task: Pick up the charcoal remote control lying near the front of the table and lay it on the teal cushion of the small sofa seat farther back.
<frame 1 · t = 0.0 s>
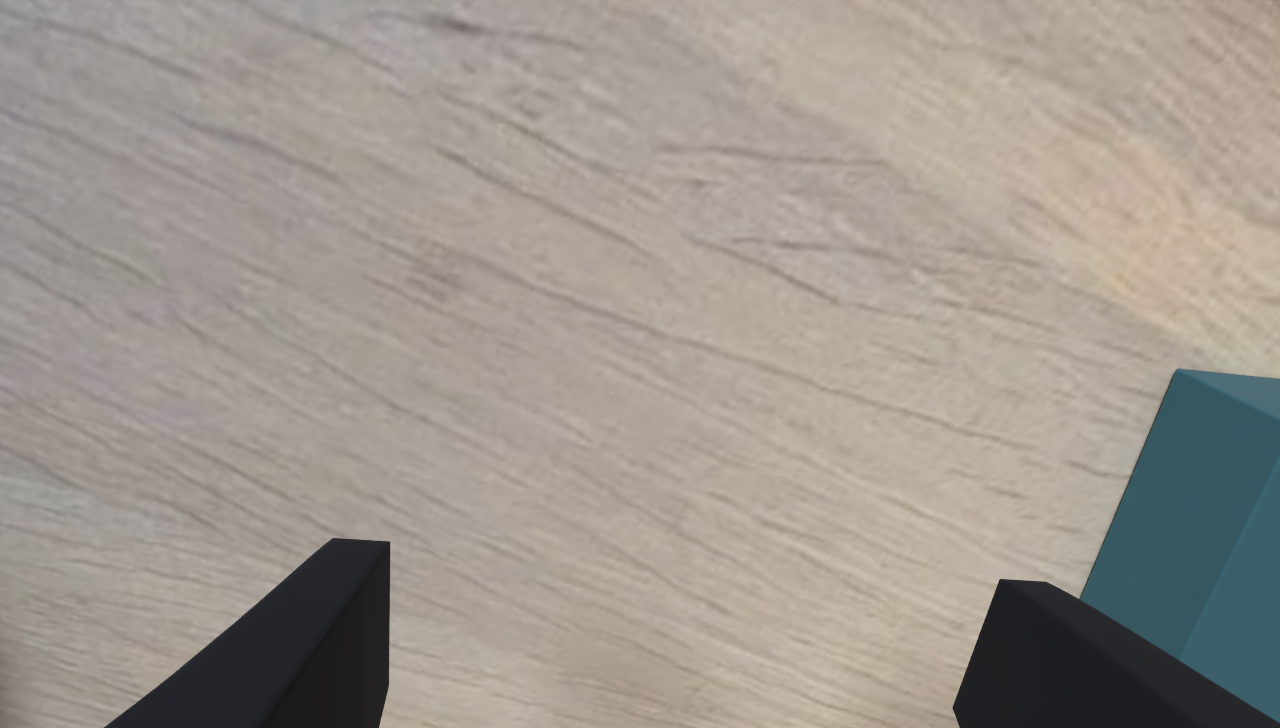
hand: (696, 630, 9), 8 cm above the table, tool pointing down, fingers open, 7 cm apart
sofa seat: (1232, 577, 19), on the table
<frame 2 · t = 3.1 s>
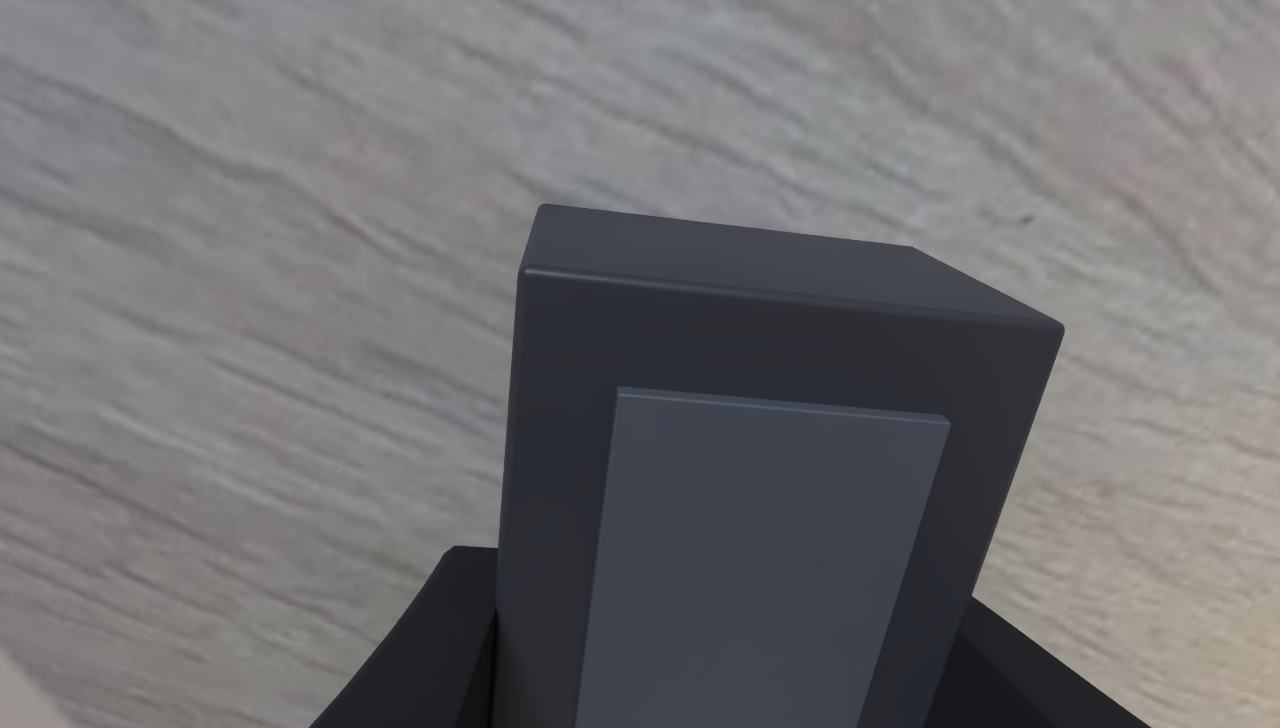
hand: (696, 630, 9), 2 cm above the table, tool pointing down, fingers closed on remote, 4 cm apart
remote: (676, 548, 10), on the table, touching gripper
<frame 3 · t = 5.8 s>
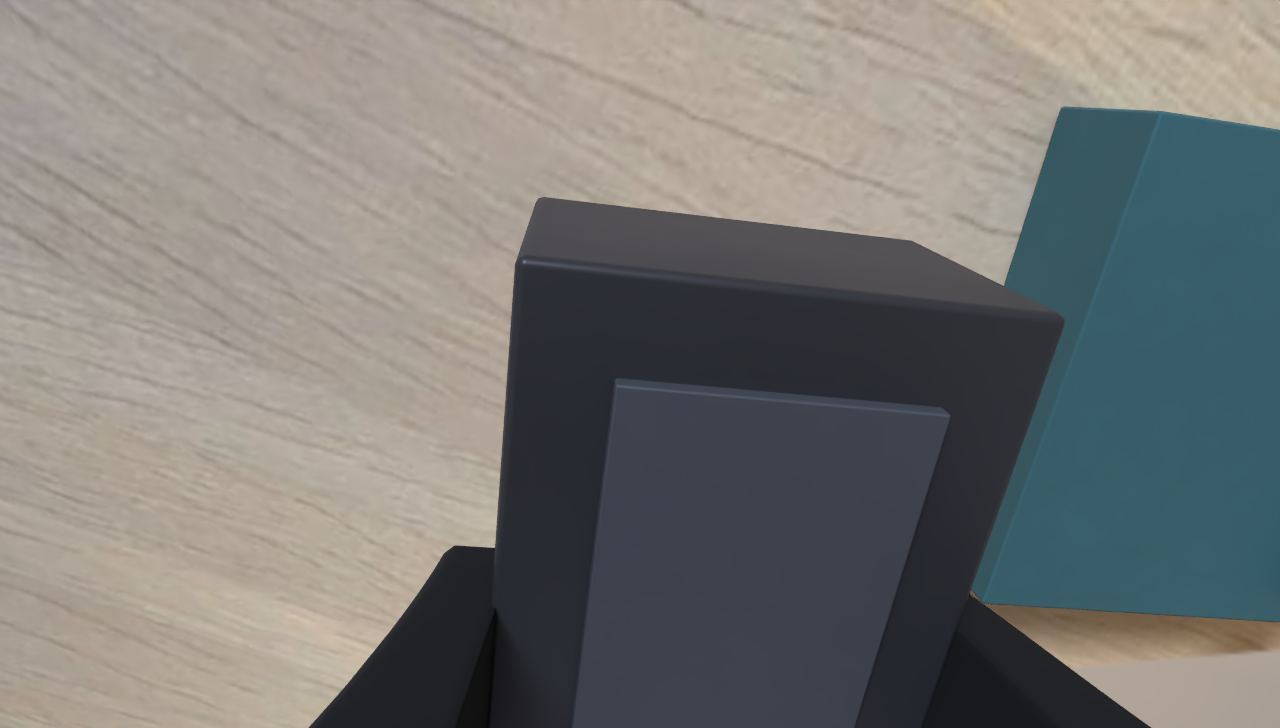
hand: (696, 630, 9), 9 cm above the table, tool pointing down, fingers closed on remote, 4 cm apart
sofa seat: (1132, 357, 18), on the table
remote: (675, 544, 10), point 8 cm above the table, touching gripper
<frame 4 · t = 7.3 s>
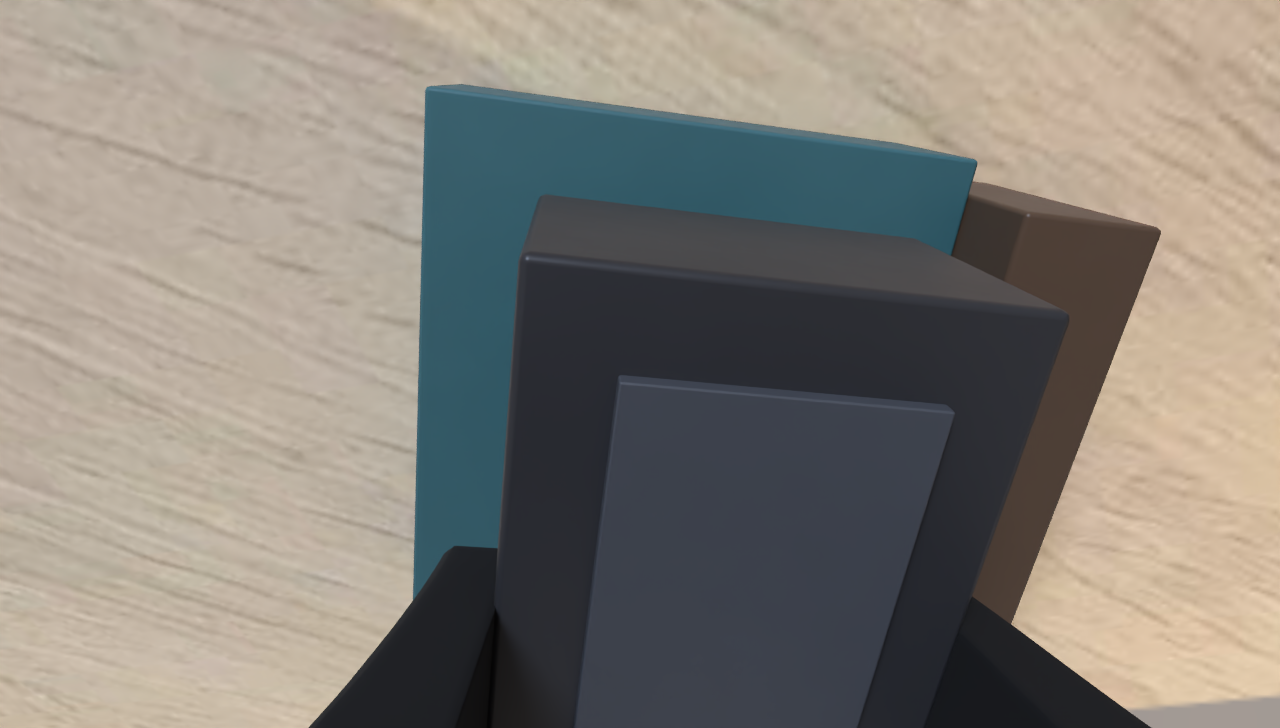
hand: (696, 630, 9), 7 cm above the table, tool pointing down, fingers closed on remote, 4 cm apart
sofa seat: (645, 394, 15), on the table
remote: (677, 543, 10), point 5 cm above the table, touching gripper
when the fingers open (3 cm above the table, at t = 8.5 s): remote stays where it is, resting on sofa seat.
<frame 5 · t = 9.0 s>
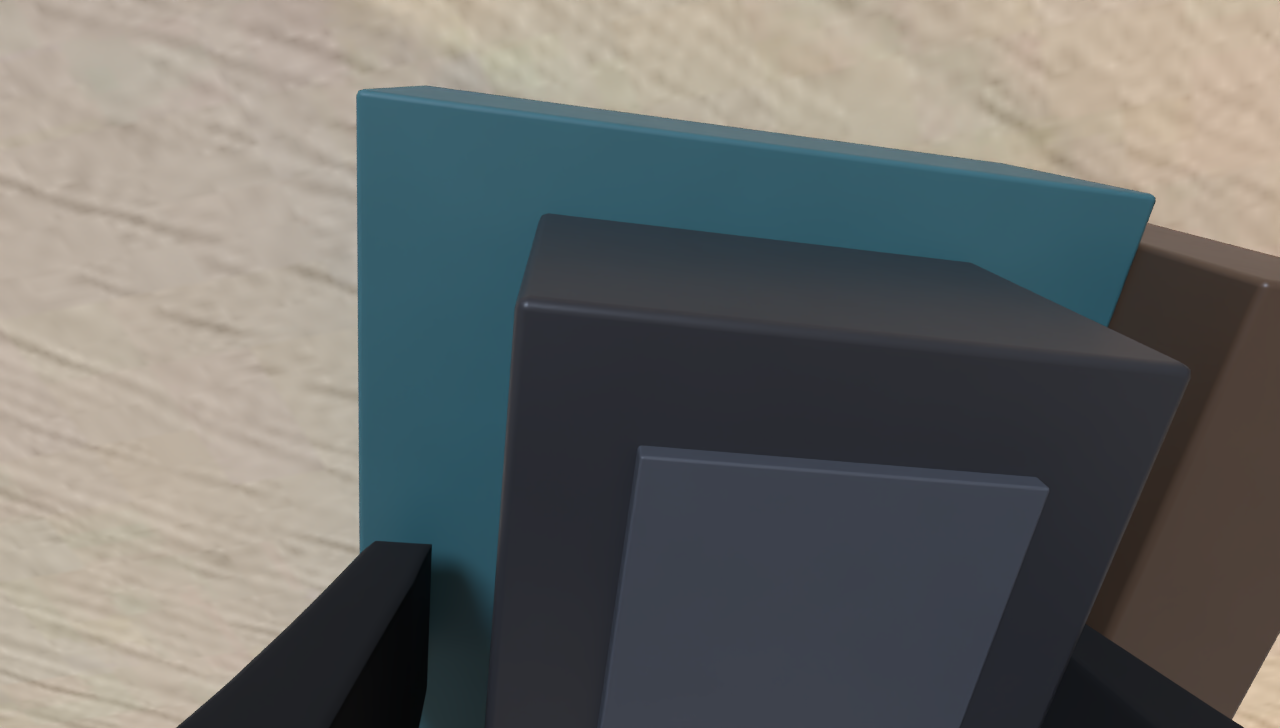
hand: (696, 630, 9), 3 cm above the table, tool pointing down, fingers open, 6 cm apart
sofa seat: (667, 482, 12), on the table
remote: (695, 600, 9), point 3 cm above the table, touching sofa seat
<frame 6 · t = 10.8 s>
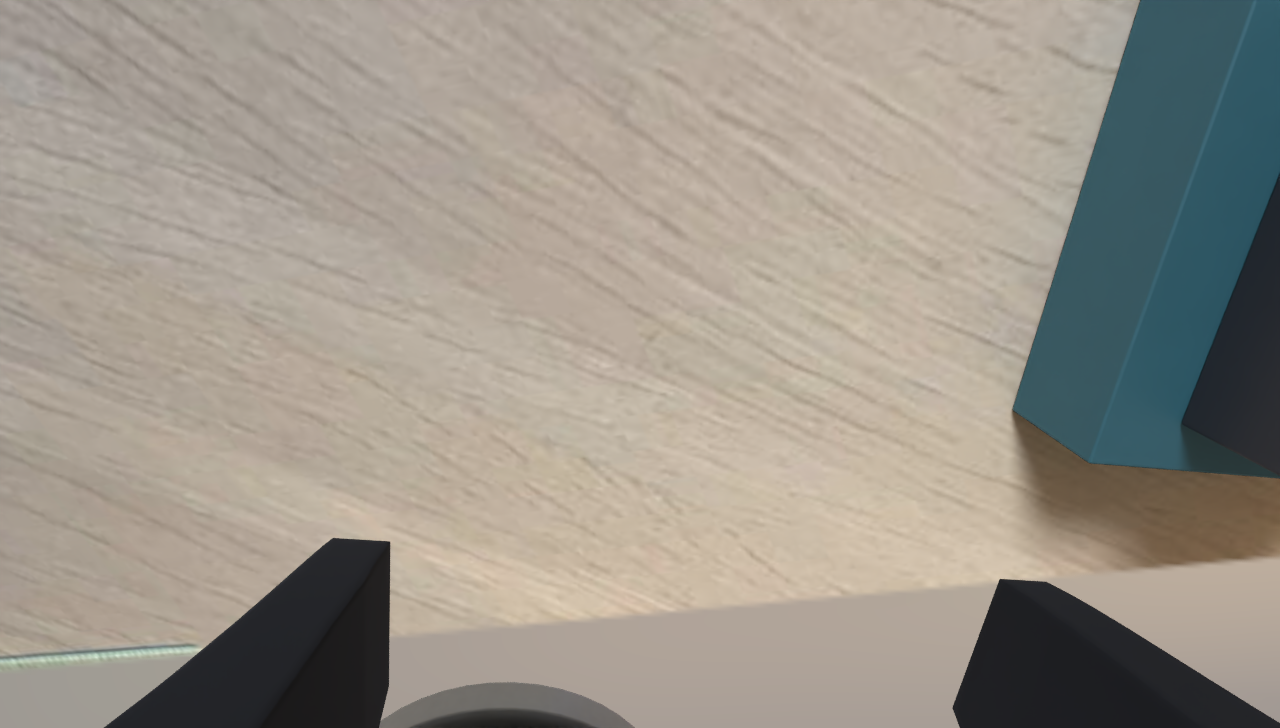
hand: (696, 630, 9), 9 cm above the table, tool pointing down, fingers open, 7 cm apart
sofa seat: (1232, 212, 17), on the table
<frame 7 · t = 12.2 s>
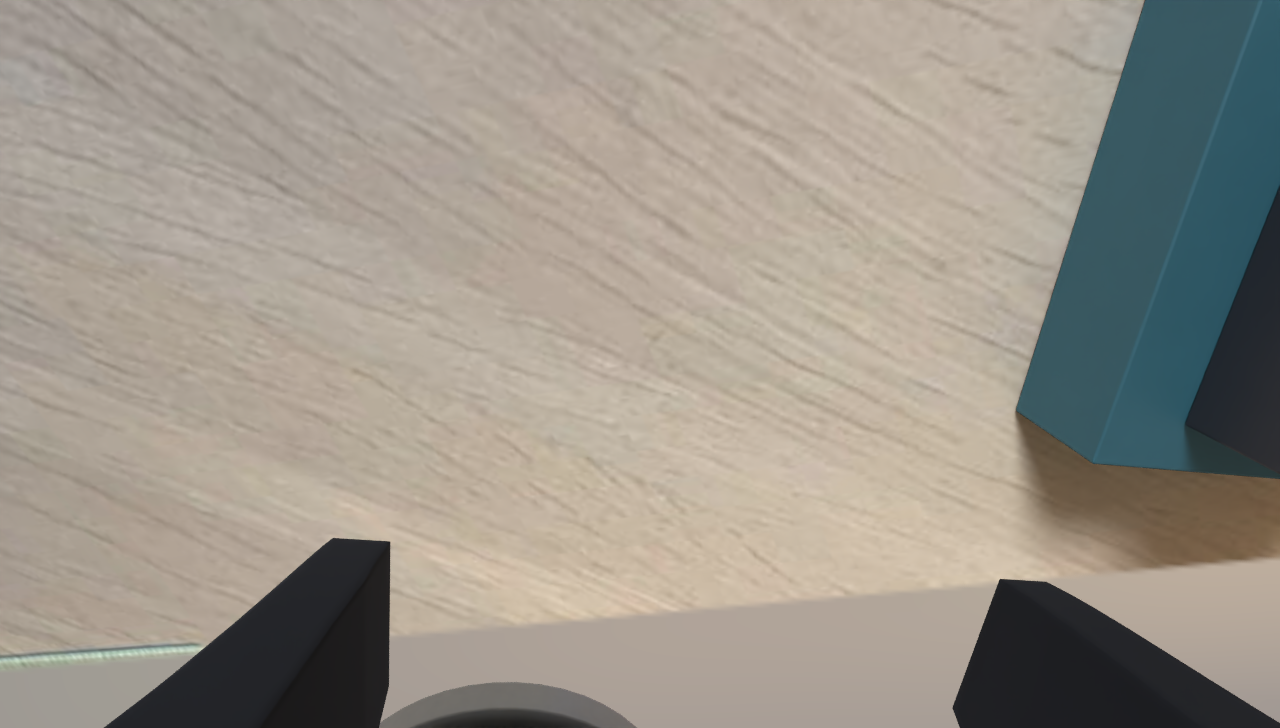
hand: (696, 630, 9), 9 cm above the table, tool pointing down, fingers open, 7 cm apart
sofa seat: (1235, 213, 17), on the table
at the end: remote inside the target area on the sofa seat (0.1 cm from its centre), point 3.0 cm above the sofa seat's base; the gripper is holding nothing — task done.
